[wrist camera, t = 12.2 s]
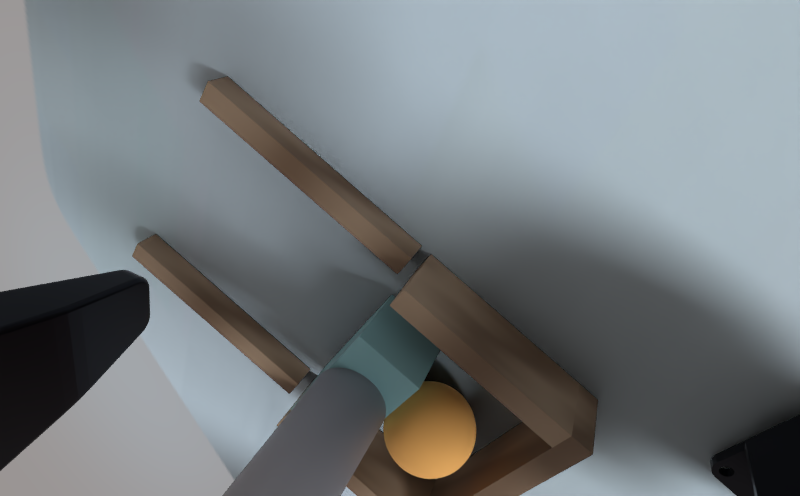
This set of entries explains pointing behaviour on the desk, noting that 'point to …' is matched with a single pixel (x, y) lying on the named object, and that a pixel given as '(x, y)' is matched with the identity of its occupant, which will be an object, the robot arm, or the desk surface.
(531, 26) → the desk surface
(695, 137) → the desk surface
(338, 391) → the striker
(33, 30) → the desk surface
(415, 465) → the ball
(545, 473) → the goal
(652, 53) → the desk surface
